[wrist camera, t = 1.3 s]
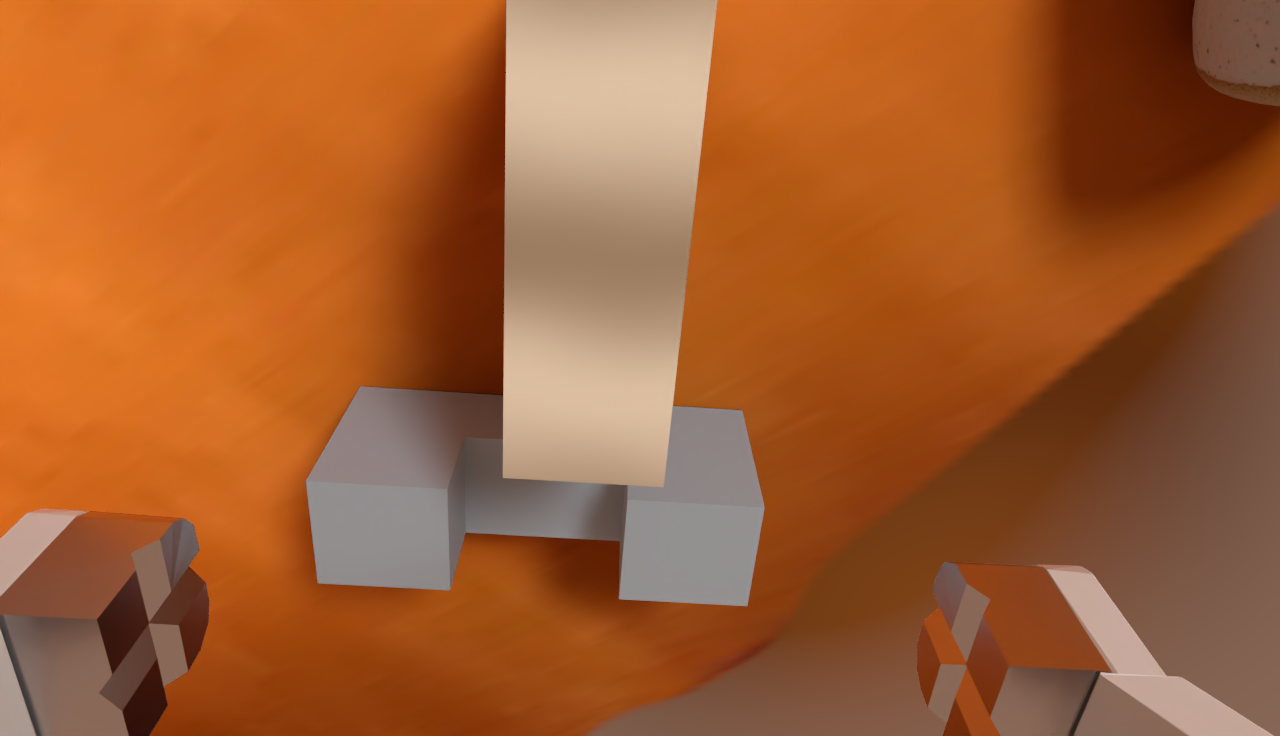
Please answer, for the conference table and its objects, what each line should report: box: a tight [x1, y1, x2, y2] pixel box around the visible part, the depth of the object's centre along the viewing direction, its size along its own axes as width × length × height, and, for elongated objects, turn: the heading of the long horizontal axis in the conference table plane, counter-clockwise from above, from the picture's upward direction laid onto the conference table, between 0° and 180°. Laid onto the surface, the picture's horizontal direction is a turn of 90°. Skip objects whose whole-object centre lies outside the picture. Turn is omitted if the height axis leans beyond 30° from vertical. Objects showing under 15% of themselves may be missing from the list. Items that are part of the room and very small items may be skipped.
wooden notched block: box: [503, 0, 717, 487], centre depth 23 cm, size 12×4×10 cm, turn 176°
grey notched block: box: [306, 386, 765, 606], centre depth 30 cm, size 14×4×6 cm, turn 86°
